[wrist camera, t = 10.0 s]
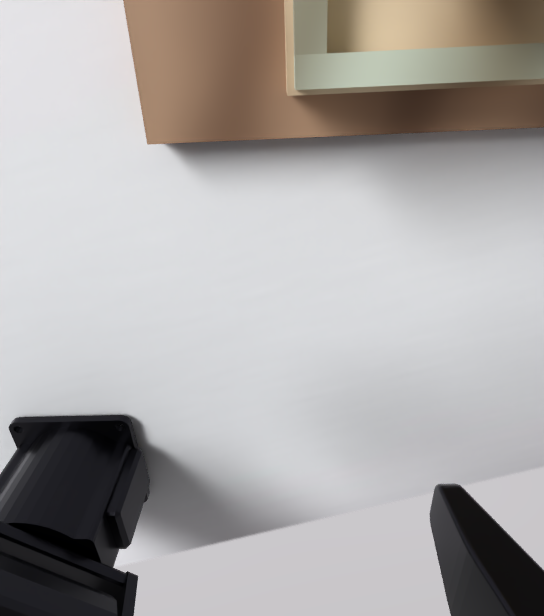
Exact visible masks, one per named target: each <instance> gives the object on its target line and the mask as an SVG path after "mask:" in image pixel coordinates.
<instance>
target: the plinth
mask: <svg viewBox="0 0 544 616" xmlns="http://www.w3.org/2000/svg"><path fill="white" fill-rule="evenodd" d="M123 1H124V7H125V13H126V19H127V25H128V31H129V37H130V43H131V49H132V55H133V61H134V67H135V73H136V79H137V85H138V91H139V97H140V103H141V109H142V115H143V121H144V127H145V133H146V139H147V144H166V143H190V142H213V141H236V140H259V139H283V138H306V137H329V136H353V135H376V134H399V133H422V132H446V131H469V130H492V129H516V128H539V127H544V0H123Z"/></svg>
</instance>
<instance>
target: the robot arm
mask: <svg viewBox="0 0 544 616" xmlns="http://www.w3.org/2000/svg"><path fill="white" fill-rule="evenodd" d="M119 424H122V425H123V426H121V425H119ZM19 426H20V427H19ZM9 430H10V433H11V435H12V437H13V440H14V442H15V444H16V446H17V450H16V452H15V453H14V455H13V456H12V458H11V459H10V461H9V462H8V464H7V465H6V467H5V468H4V470H3V471H2V472H1V474H0V616H133V615H134V606H135V598H136V589H137V581H138V576H137V575H135V574H133V573H130V572H128V571H127V572H126V573H124V572H122V571H120V570H117V569H115V568H113V566H114V563H115V560H116V557H117V554H118V551H119V549H126V548H127V547H128V546H129V545H130V544H131V542H132V538H133V535H134V532H135V529H136V525H137V522H138V519H139V516H140V512H141V509H142V506H143V503H144V502H146V501H147V499H148V496H149V488H148V487H149V483H150V479H149V476H148V472H147V468H146V464H145V460H144V456H143V452H142V451H141V450H140V448H138V445H137V442H136V438H135V434H134V430H133V426H132V422H131V420H130V419H129V418H128V417H126V416H123V415H105V416H60V417H19V418H15V419H14V420H13V421H12V423H11V424H10V426H9ZM430 523H431V528H432V533H433V537H434V541H435V546H436V551H437V556H438V560H439V565H440V569H441V574H442V578H443V583H444V587H445V592H446V596H447V601H448V605H449V609H450V613H451V616H544V570H543V569H542V568H541V567H540V566H539V565H538V564H537V563H536V562H535V561H534V560H533V559H532V558H531V557H530V556H529V555H528V554H527V553H526V552H525V551H524V550H523V549H522V548H521V547H520V546H519V545H518V544H517V543H516V542H515V541H514V540H513V538H512V537H511V536H510V535H509V534H508V533H507V532H506V531H505V530H504V529H503V528H502V527H501V526H500V525H499V524H498V523H497V522H496V521H495V520H494V519H493V518H492V517H491V516H490V515H489V514H488V513H487V512H486V511H485V510H484V509H483V508H482V507H481V506H480V505H479V504H478V503H477V502H476V501H475V500H474V499H473V498H472V497H471V496H470V495H469V494H468V493H467V492H466V491H465V490H464V488H462V487H461V486H460V485H458V484H438V485H436V487H435V489H434V494H433V500H432V505H431V510H430Z"/></svg>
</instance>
